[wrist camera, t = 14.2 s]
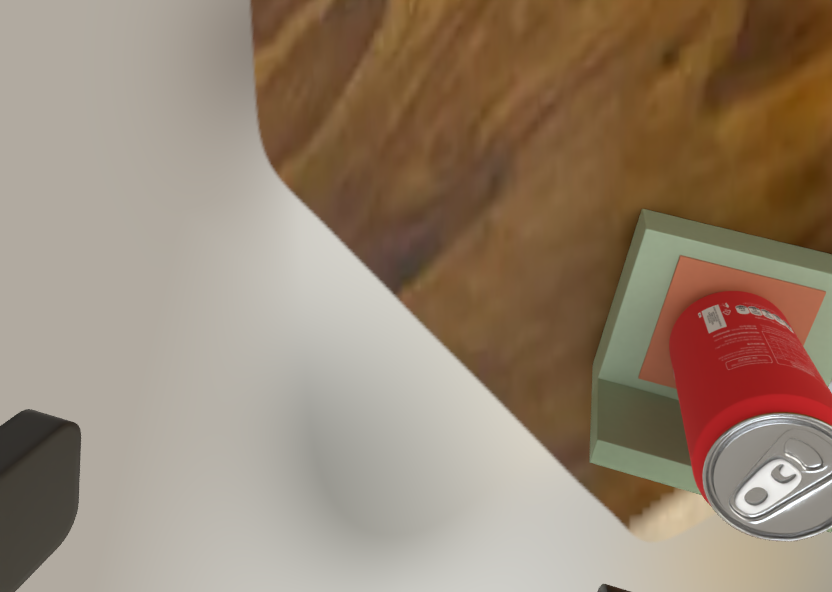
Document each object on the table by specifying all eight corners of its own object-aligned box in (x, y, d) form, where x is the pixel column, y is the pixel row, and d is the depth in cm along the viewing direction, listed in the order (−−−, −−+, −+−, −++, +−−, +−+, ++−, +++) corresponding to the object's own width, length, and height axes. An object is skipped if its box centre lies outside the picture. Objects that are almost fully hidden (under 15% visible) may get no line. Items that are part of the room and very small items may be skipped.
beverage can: (813, 330, 34) (911, 478, 23) (729, 407, 37) (782, 575, 26) (723, 259, 34) (779, 375, 23) (643, 340, 36) (660, 481, 25)
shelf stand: (592, 364, 42) (589, 462, 33) (642, 208, 38) (653, 268, 29) (780, 416, 40) (831, 533, 31) (848, 258, 37) (928, 337, 28)
